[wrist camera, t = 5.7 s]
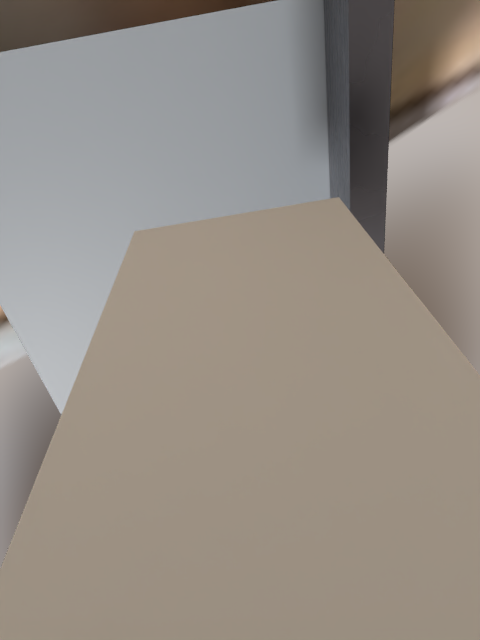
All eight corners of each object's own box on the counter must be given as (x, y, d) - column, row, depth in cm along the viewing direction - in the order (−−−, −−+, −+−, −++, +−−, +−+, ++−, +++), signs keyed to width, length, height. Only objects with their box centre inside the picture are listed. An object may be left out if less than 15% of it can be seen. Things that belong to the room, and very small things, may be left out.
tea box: (134, 231, 9) (-76, 756, 2) (353, 194, 9) (765, 655, 2) (197, 433, 13) (180, 868, 6) (353, 410, 13) (513, 832, 6)
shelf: (86, 407, 26) (58, 486, 21) (-83, 70, 16) (-201, 84, 11) (350, 367, 25) (380, 440, 21) (346, -10, 15) (403, -29, 11)
